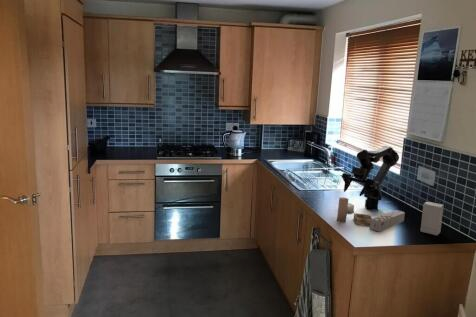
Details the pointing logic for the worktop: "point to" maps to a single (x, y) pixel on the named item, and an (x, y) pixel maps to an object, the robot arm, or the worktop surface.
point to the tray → (362, 219)
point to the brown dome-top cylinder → (342, 209)
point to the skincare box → (431, 218)
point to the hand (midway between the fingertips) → (351, 193)
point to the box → (387, 220)
